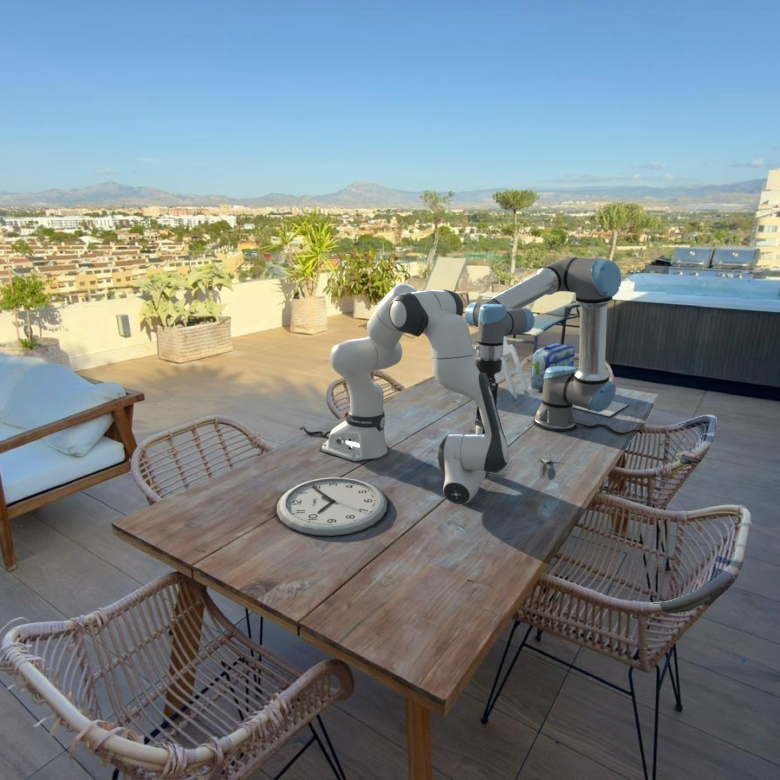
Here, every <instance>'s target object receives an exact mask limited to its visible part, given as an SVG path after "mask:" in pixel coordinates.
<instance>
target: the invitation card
mask: <svg viewBox="0 0 780 780" xmlns="http://www.w3.org/2000/svg"><path fill="white" fill-rule="evenodd" d="M628 406H629V404H627V403H623V402H618V401H614V400H612V402H611V404H610V405H609V406H608V407H607V408H606V409H605V410H604V411H601V412H596V411H592V410H588V409H585V408H582V407H579V406H576V405H575V406H574V407H573V409H575V410H581V411H584V412H587V413H593V414H596V415H600V416H604V417H608V418H609V417H611V416H613V415H614V414H616V413H617V412H619V411H621V410H623V409H624V408H626V407H628Z"/></svg>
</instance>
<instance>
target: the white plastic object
mask: <svg viewBox="0 0 780 780" xmlns="http://www.w3.org/2000/svg"><path fill="white" fill-rule="evenodd" d="M475 347H477V345H473V346H472V348H473V358H474V362H475V364H476V358H477V356H476V352H477V350H475ZM500 359H501V360H502V365H501V368H502V370H503V373H504V376H505V380H506V383H507V386H508V390H509V393H510V394H511V395H512V397H513V398H514V399H515V400H517V392H516V391H517V390H516V388H515V385H514V381H513V378H512V375H511V371H510V369H509V365H508V361H510V360H513V363H514V366H515V369H516V372H517V376H518V380H519V382H520V385H521V389H522V391H523V393H524V395H525V396H526V397H528V396H531V395H530V390H529V388H528V387H529V386H528V384H527V381H526V378H525V375H524V371H523V369H522V368H523V367H522V366H521V362H520V359H519V355H518V352H517V349H516V347H515V346H514V345H513V343H511V344H508V341H507V336H504V341H503V356H502V358H500Z"/></svg>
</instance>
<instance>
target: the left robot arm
mask: <svg viewBox="0 0 780 780" xmlns="http://www.w3.org/2000/svg"><path fill="white" fill-rule="evenodd" d="M464 309H465V308H464V303H463V299H462V297H461V296H460V295H459V294H458V293H457V292H455V291H453V290H449V289H425V290H417V289H416V288H415V287H414V286H412V285H410V284H408V283H399V284H396V285H394V287H393V288H392V289H390V290H389V291H388V292H387V294H385V296H384V297H383V298H382V299H381V301H379V304H377V307H376V308H375V310H374V312H372V315H371V316H370V317H369V319H368V321H367V323H366V331H367V335H368V336H366V337H361V338H354V339H348V340H345V341H341V342H339V343H337V344H335V345H333V347H332V348H331V350H330V354H329V362H330V365H331V367H332V369H333V370H334V372H335V373H336V374H338V375H340V376H341V377H342V378H343V379H344V381H345V383H346V385H347V387H348V393H349V409H348V410H346V411H345V413H343V414H342V415H343V416H342V418H345V419H344V420H343V421H341V422H340V423H339V424H337V425H336V426H335V427H333V428H332V429H330V430H327V431H325V433H324V432H323V431H320V430H318V431H317V430H316V431H308V429H307V428H306V427H305V426H301V427H299V430H301V431H304V433H306V434H308V435H318V434H319V435H321V436H322V437H327V435H328V439H327V440H325V442H323V443H322V445H321V451H322V452H324V453H327V454H330V455H334V456H336V457H340V458H343V459H346V460H349V461H352V462H360V461H363V460H371V459H378V458H381V457H383V456H385V455H386V454H388V451H389V449H388V445H387V443H386V442H387V441H386V437H385V423H386V418H385V417H386V415H385V413H386V412H385V410H384V395H385V394H384V389H383V388H382V385H380V384H379V383H377V382H375V381H373V380H372V372H376V371H381V370H386V369H389V368H391V367H393V366H396V365H397V364H399V363H400V361H401V360H402V357H403V346H402V344H401V343H400V340H401V339H402V337H403V336H404V335H405V334H410V335H412V336H414V337H416V338H417V337H420V336H421V335H425V337H426V338H427V339H428V341H429V346H430V358H431V359H430V360H431V368H432V373H433V377H434V379H435V380H436V381H437V383H438V384H440V385H441V386H442V387H443V388H445V389H447V390H449V391H451V392H454V393H457V394H460V395H463V396H466V397H467V398H469V399H471V400H472V401H473V402H474V403H475V404H476V406H478V407H479V411H480V415H481V418H482V422H483V426H484V430H485V434H476V433H474V434H473V433H472V434H471V433H470V434H467V433H451V434H450V433H448V434H447V435H446V436H444V438H443V439H442V441H441V442H440V444H439V446H438V450H437V462H438V465H439V469H440V470H441V472H442V475H444V481H443V487H442V490H443V496H444V497H445V499H447V500H448V501H449V502H451V503H452V504H456V505H466V504H467V503H469V502H471V501H472V500H473V498H474V497H476V495H477V493H478V491H479V489H480V488H481V485H483V482H484V480H485V479H486V477H487V476H489V477H494V478H505V477H507V476H509V474H510V472H511V471H512V465H513V460H512V458H510V448H509V445H508V441H507V439H506V436H505V434H504V433H505V432H504V430H503V426H502V423H501V418H500V415H499V411H498V407H496V403H495V399H494V395H493V392H492V388H491V385H490V382H489V380H488V378H487V376H486V375H484V374H482V373H480V371H479V370H478V368H477V366H476V364H475V362H474V358H473V348H472V347H473V342H472V337H471V332H470V328H469V324H468V323H467V322H466V319H465V317H464V316H463V315H464V311H465V310H464Z"/></svg>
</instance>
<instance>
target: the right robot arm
mask: <svg viewBox="0 0 780 780" xmlns="http://www.w3.org/2000/svg"><path fill="white" fill-rule="evenodd" d="M621 285H622V273H621V269H620V267H619V265H618V264H617V263H616V262H615V261H613V260H610V259H604V258H594V257H593V258H591V257H575V256H574V257H573V256H571V257H566V258H563V259H560V260H557V261H555V262H552V263H550V264H548V265H545V266H543V267H541V268H540V269H538V270H537V271H536V273H535V274H534V275H533V276H530V277H529V278H527V279H525V280H524V281H521V282H520V283H518V284H516V285H513V286H512V287H511V288H509V289H507V290H505V291H503V292H500V293H499V294H497V295H495V296H494V297H491V298H489V299H487V300H486V301H484V302H471V303H469V304H468V305H467V307H466V308H465V310H464V319H465V320H466V322H467V324H468V325H470V326H473V327H476V328H477V337H476V339H477V340H476V346H477V347H475V350H477V352H476V356H477V358H476V366H477V368H478V370H479V371H480V373H482V374H484V375H486V376H487V378H488V380H489V382H490V385H491V388H492V392H493V395H494V399H495V403H496V407H497V405H498V404H497V402H498V388H499V383H498V382H497V381H496V377H495V375H496V374H499V373H500V372H501V371H502V360H501V359H500V358H502V356H503V341H504V336H505V337H509V336H514V335H523V334H525V333H528V332H531V330H533V328H534V326H535V321H536V320H535V315H534V313H533V311H531V310H530V309H529V308H524V307H526V306H528V305H529V304H532V303H534V302H536V301H537V300H539V299H540V298H542V297H544V296H549V295H550V296H551V295H554V294H555V293H560V292H565V293H566V292H567V293H568V292H569V293H575V302H576V303H577V304H578V305H579V352H578V353H579V354H578V368H577V367H576V366H573V367H571V366H555V367H549V368H547V369H546V371H545V375H544V378H543V379H544V381H543V390H542V394H541V402H540V405H539V407H538V409H537V411H536V413H535V416H534V424H535V425H536V426H537V427H539V428H542V429H544V430H549V431H556V432H567V431H572V430H574V429H575V428H576V425H577V426H581V427H584V428H588V429H589V428H590V429H591V428H595V427H603V428H606V429H608V430H609V431H611V433H614V434H617V435H628V434H631V433H634V432H637V433H638V434H640V435H643V434H644V433H643V431H642V430H640V429H636V428H635V429H631V430H628V431H617V430H615V429H613V428H612V427H611V426H609V425H607V424H603V423H596V424H592V425H591V424H590V425H589V424H585V423H582V422H577V421H576V418H575V417H576V416H575V413H574V407H573V406H575V407H576V406H579V407H582V408H585V409H588V410H592V411H596V412H601V411H604V410H605V409H606V408H607V407H608V406H609V405H610V404H611V402H612V401H614V398H615V395H616V392H617V386H616V384H615V383H614V382H613V381H610V373H609V371H607V369H606V348H607V347H606V345H607V326H608V325H607V324H608V322H607V320H608V304H610V303H611V302H612V301H613V297H614V296H616V295H617V294H618V293H619V291H620V287H621ZM497 408H498V407H497ZM475 413H476V414H475V415H476V416H475V418H476V417H477V416H480V411H479V407H478V405H476V412H475ZM482 434H485V430H484V426H483V431H482Z"/></svg>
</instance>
